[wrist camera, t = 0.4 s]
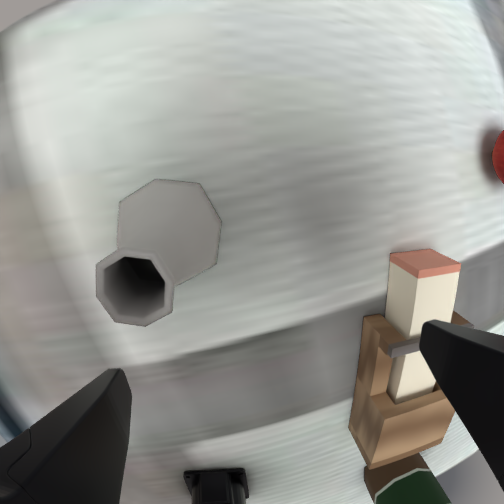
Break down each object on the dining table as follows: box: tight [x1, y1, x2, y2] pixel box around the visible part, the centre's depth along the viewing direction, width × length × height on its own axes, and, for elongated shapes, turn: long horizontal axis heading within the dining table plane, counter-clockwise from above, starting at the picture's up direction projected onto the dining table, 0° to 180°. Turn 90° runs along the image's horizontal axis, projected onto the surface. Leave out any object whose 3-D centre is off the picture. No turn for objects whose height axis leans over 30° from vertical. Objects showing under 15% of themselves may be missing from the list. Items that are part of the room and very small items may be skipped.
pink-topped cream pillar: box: [385, 249, 461, 405], centre depth 23 cm, size 14×4×4 cm, turn 4°
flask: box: [96, 179, 222, 327], centre depth 16 cm, size 7×7×10 cm
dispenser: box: [348, 311, 474, 470], centre depth 24 cm, size 13×8×6 cm, turn 3°
